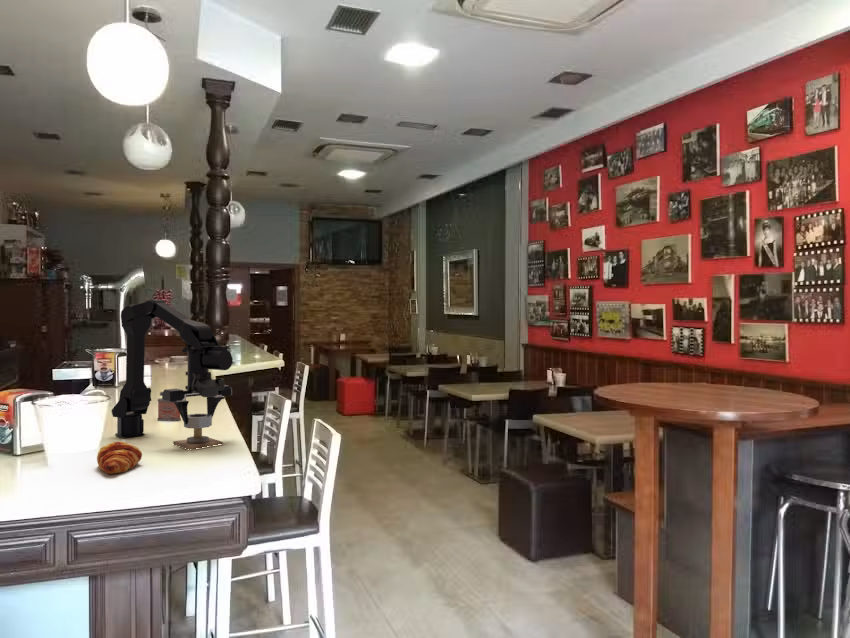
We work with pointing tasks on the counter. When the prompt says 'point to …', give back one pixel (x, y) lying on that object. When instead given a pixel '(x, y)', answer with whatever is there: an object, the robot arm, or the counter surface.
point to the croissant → (118, 457)
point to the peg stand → (197, 441)
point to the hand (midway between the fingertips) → (197, 422)
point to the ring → (198, 421)
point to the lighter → (167, 410)
